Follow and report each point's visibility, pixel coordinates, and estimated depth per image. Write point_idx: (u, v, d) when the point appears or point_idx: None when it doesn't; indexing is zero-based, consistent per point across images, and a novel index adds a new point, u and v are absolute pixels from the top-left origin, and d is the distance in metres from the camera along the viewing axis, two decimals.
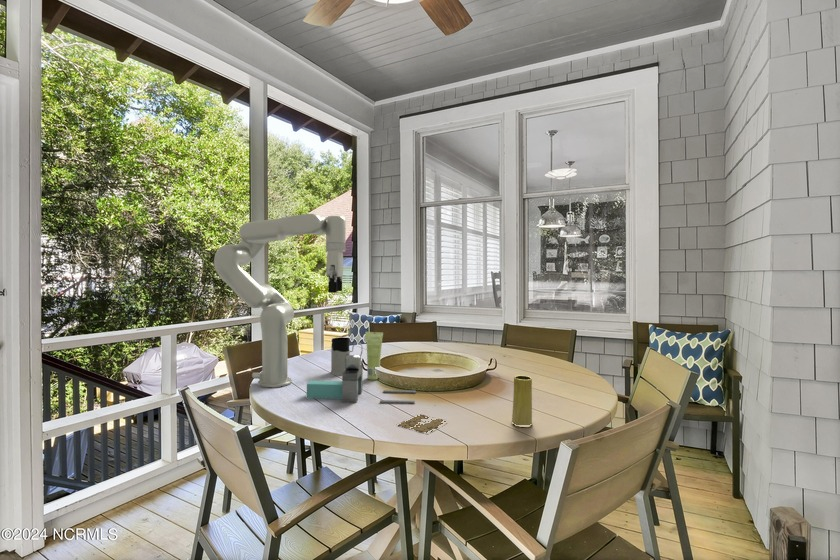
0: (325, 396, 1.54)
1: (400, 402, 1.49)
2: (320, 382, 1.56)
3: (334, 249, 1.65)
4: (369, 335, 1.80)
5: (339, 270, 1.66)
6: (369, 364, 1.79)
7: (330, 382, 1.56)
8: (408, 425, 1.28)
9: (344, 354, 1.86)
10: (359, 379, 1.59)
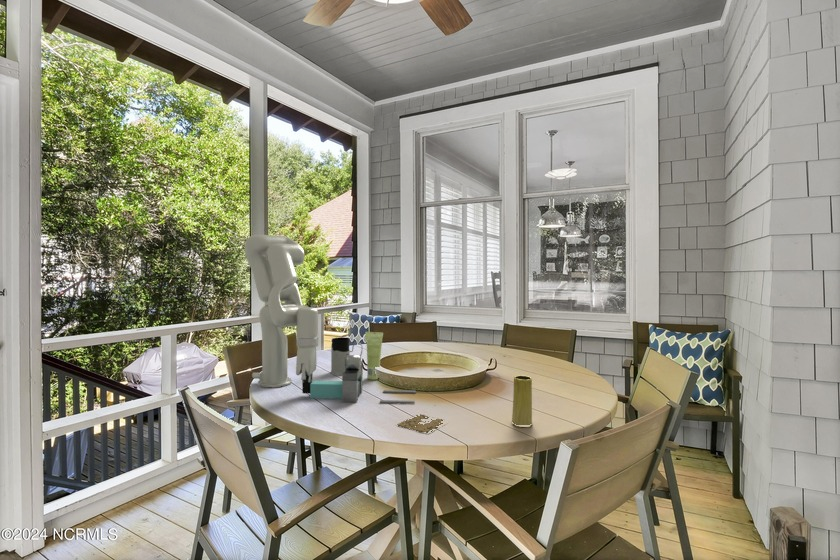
0: (329, 396, 1.54)
1: (400, 402, 1.49)
2: (324, 382, 1.56)
3: (305, 345, 1.52)
4: (369, 335, 1.80)
5: (310, 368, 1.52)
6: (369, 364, 1.79)
7: (334, 382, 1.56)
8: (409, 425, 1.28)
9: (344, 354, 1.86)
10: (359, 379, 1.59)
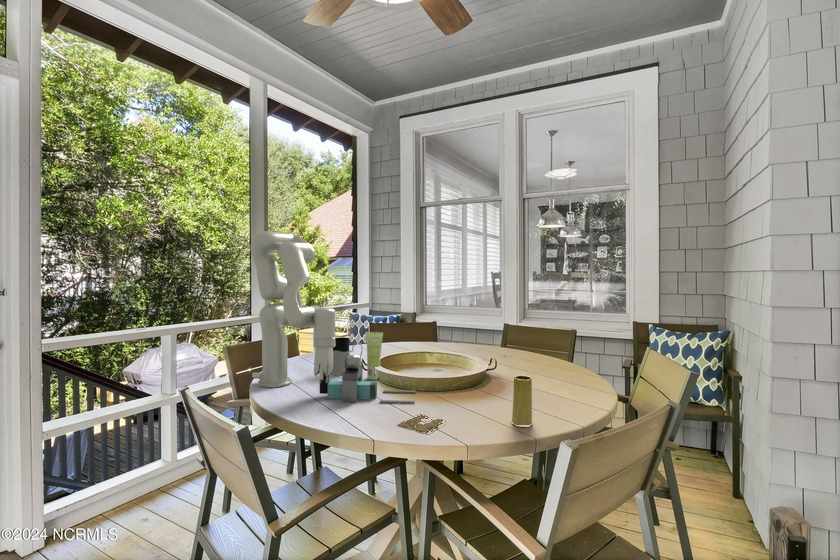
0: None
1: (400, 402, 1.49)
2: (341, 382, 1.56)
3: (323, 346, 1.52)
4: (369, 335, 1.80)
5: (328, 368, 1.52)
6: (369, 364, 1.79)
7: None
8: (409, 425, 1.28)
9: (344, 354, 1.86)
10: (359, 379, 1.59)
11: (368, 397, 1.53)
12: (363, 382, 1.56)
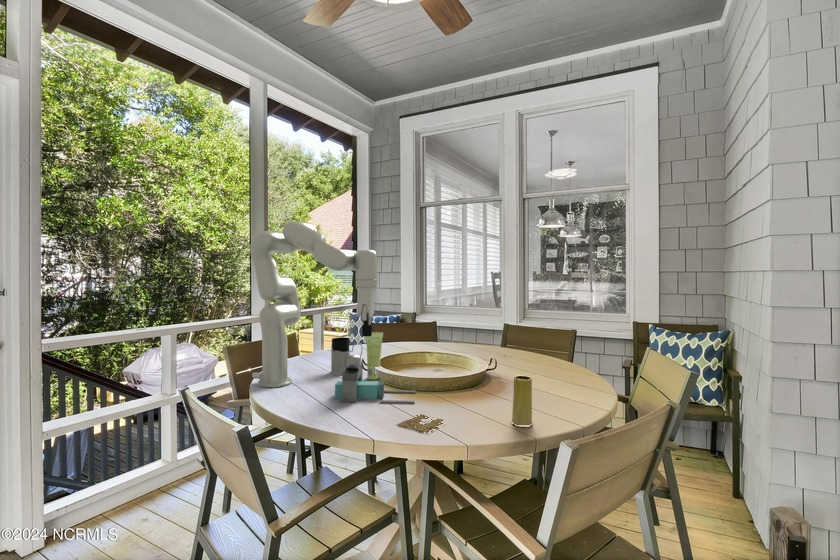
0: None
1: (400, 402, 1.49)
2: None
3: (365, 287, 1.50)
4: None
5: (371, 309, 1.51)
6: (369, 364, 1.79)
7: (358, 382, 1.56)
8: (409, 425, 1.28)
9: (344, 354, 1.86)
10: (359, 379, 1.59)
11: (375, 397, 1.54)
12: (370, 382, 1.56)
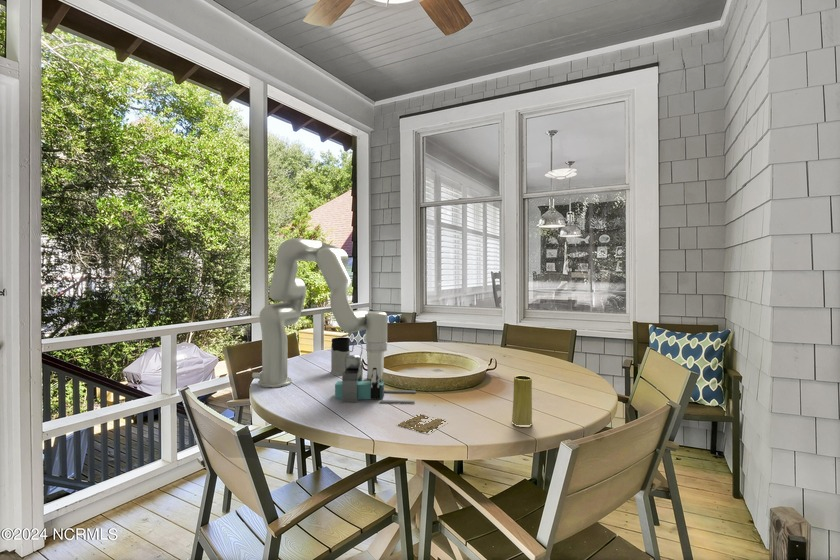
0: None
1: (400, 402, 1.49)
2: None
3: (376, 350, 1.51)
4: None
5: (381, 372, 1.52)
6: None
7: (358, 382, 1.56)
8: (409, 425, 1.28)
9: (344, 354, 1.86)
10: (359, 379, 1.59)
11: None
12: (370, 382, 1.56)
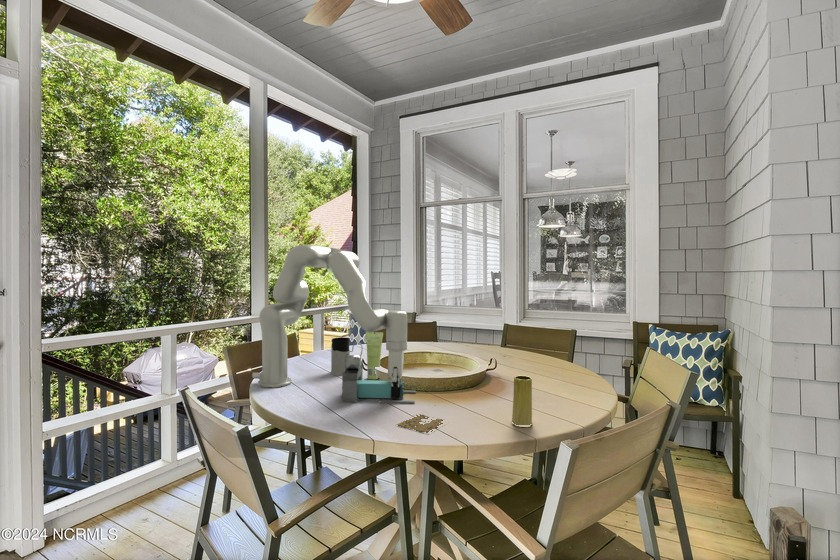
0: (373, 396, 1.53)
1: (400, 402, 1.49)
2: (368, 382, 1.56)
3: (396, 349, 1.51)
4: (369, 335, 1.80)
5: (401, 371, 1.52)
6: (369, 364, 1.79)
7: (378, 382, 1.56)
8: (409, 425, 1.28)
9: (344, 354, 1.86)
10: (359, 379, 1.59)
11: None
12: (390, 381, 1.56)
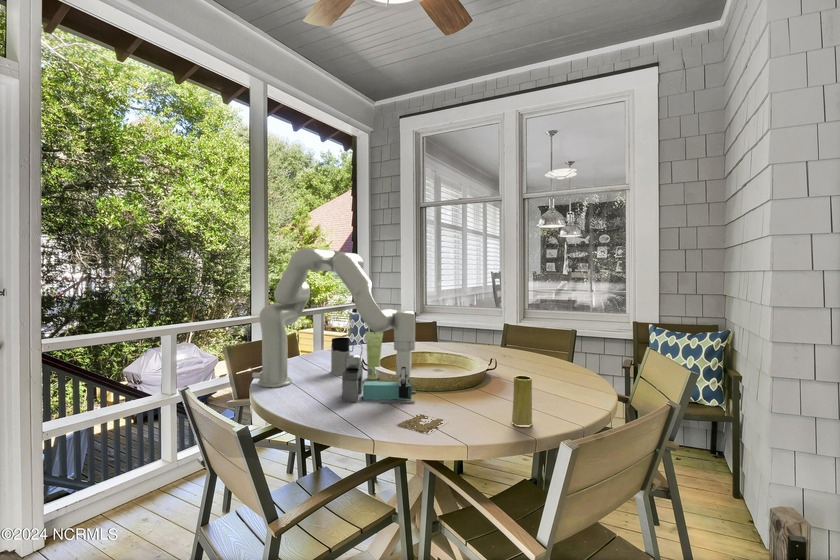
0: (381, 397, 1.53)
1: (400, 402, 1.49)
2: (376, 383, 1.56)
3: (405, 349, 1.51)
4: (369, 335, 1.80)
5: (410, 371, 1.52)
6: (369, 364, 1.79)
7: (386, 383, 1.56)
8: (409, 425, 1.28)
9: (344, 354, 1.86)
10: (359, 379, 1.59)
11: (404, 398, 1.53)
12: (398, 383, 1.56)
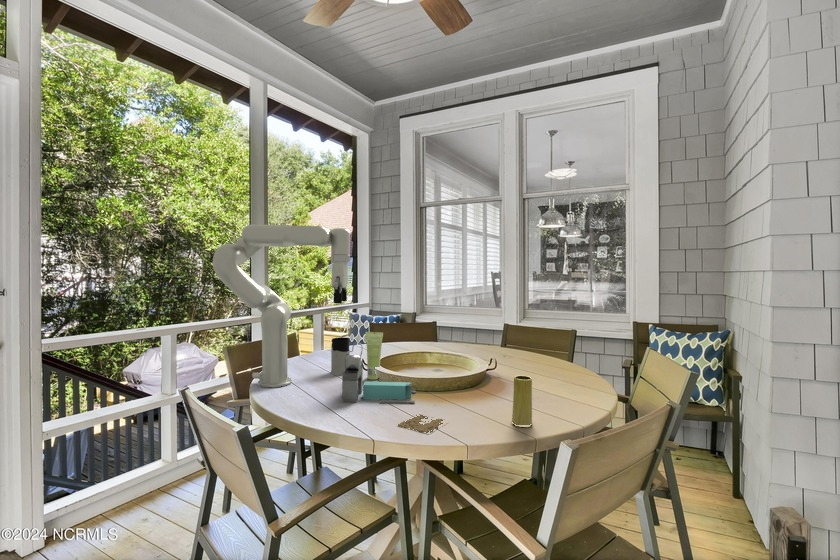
0: (381, 397, 1.53)
1: (400, 402, 1.49)
2: (376, 383, 1.56)
3: (339, 261, 1.69)
4: (369, 335, 1.80)
5: (344, 281, 1.70)
6: (369, 364, 1.79)
7: (386, 383, 1.56)
8: (409, 425, 1.28)
9: (344, 354, 1.86)
10: (359, 379, 1.59)
11: (404, 398, 1.53)
12: (398, 383, 1.56)
